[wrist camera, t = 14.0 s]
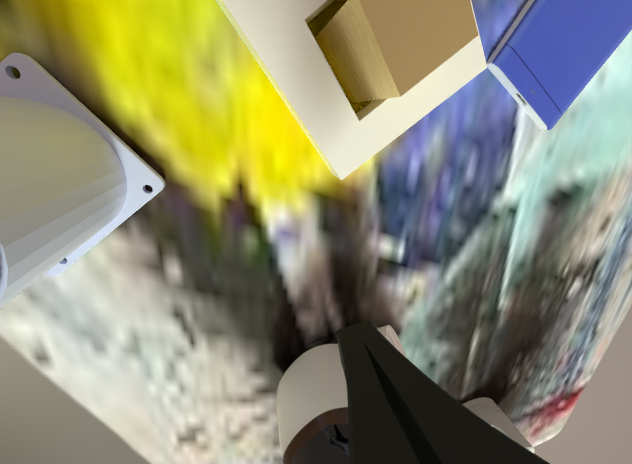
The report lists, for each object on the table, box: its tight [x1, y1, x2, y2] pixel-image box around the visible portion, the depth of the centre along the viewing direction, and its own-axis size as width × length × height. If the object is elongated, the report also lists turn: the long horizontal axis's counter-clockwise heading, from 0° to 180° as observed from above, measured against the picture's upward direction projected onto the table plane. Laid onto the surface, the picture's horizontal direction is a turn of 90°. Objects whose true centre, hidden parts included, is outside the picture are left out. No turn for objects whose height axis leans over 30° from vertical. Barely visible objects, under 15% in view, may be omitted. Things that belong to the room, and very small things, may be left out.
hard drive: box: [486, 0, 632, 130], centre depth 17 cm, size 2×8×12 cm
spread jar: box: [276, 325, 407, 464], centre depth 21 cm, size 12×11×12 cm
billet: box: [316, 0, 478, 103], centre depth 12 cm, size 4×4×6 cm
